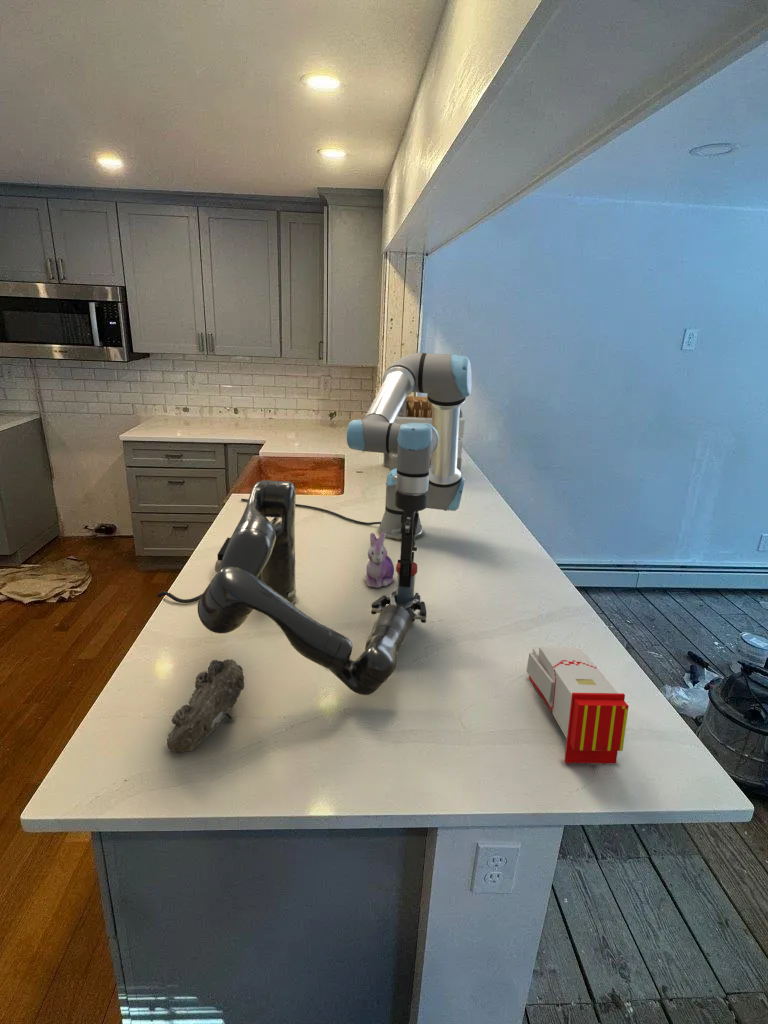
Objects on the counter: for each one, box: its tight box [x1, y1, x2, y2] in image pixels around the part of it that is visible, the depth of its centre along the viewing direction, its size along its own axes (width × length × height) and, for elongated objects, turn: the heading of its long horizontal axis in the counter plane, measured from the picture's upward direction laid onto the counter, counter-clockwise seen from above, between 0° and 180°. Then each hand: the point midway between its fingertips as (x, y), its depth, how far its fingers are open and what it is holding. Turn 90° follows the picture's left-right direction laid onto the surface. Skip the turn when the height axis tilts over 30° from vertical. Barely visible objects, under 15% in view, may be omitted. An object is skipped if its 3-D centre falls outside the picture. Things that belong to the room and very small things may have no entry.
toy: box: [526, 646, 629, 765], centre depth 112 cm, size 12×13×30 cm
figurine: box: [365, 532, 395, 589], centre depth 162 cm, size 9×10×15 cm
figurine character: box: [214, 537, 231, 573], centre depth 166 cm, size 7×8×15 cm
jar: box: [395, 572, 416, 627], centre depth 141 cm, size 4×4×15 cm
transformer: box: [383, 395, 465, 474], centre depth 268 cm, size 34×33×41 cm
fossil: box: [166, 658, 245, 754], centre depth 106 cm, size 22×10×15 cm
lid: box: [395, 561, 418, 576], centre depth 138 cm, size 5×5×2 cm
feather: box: [270, 517, 278, 525], centre depth 212 cm, size 2×28×2 cm
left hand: (407, 594), depth 144 cm, fingers closed on jar, 4 cm apart
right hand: (406, 580), depth 140 cm, fingers closed on lid, 5 cm apart
